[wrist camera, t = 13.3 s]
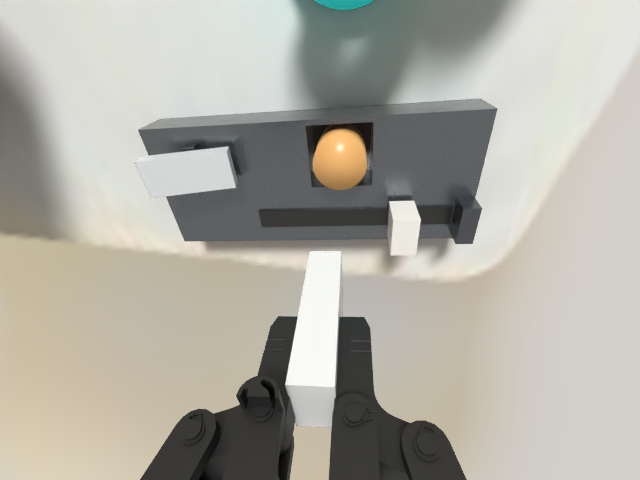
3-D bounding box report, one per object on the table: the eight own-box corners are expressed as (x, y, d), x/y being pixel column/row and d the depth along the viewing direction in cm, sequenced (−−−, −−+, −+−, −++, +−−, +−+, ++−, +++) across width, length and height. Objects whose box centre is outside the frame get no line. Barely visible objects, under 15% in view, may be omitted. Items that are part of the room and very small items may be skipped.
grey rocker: (155, 191, 29) (150, 198, 28) (140, 156, 27) (134, 162, 26) (237, 181, 30) (236, 187, 28) (228, 146, 28) (226, 151, 26)
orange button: (319, 170, 32) (315, 190, 28) (315, 124, 29) (310, 139, 25) (365, 168, 31) (366, 189, 27) (365, 121, 29) (367, 136, 25)
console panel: (198, 223, 39) (175, 253, 34) (160, 119, 31) (122, 137, 26) (454, 218, 35) (472, 251, 30) (480, 98, 28) (509, 115, 23)
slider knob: (387, 234, 32) (390, 255, 29) (389, 201, 30) (393, 220, 27) (410, 234, 32) (416, 255, 29) (414, 200, 29) (420, 220, 26)
